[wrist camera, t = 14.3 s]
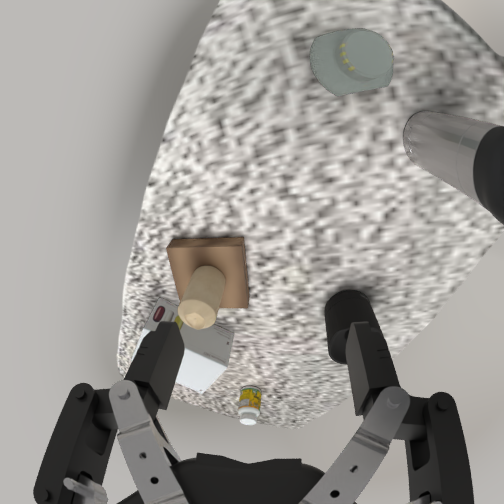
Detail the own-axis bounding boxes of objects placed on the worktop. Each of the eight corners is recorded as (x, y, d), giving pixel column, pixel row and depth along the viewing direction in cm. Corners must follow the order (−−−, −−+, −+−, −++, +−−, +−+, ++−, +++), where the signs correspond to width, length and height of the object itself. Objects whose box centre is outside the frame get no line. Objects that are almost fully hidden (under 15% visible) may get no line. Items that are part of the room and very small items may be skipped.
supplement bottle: (237, 387, 65) (232, 418, 57) (255, 383, 64) (252, 416, 55) (247, 396, 67) (243, 427, 59) (265, 393, 66) (262, 424, 58)
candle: (186, 275, 45) (166, 316, 36) (210, 259, 43) (194, 300, 34) (208, 297, 47) (194, 340, 38) (232, 283, 45) (222, 327, 36)
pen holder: (370, 319, 50) (382, 357, 42) (325, 328, 52) (330, 368, 44) (369, 282, 46) (385, 321, 37) (319, 293, 48) (325, 333, 39)
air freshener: (320, 100, 32) (335, 98, 24) (299, 47, 29) (306, 27, 20) (390, 85, 30) (423, 82, 21) (371, 33, 26) (398, 15, 17)
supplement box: (235, 332, 55) (229, 368, 47) (210, 362, 61) (202, 395, 53) (159, 295, 52) (142, 328, 44) (144, 331, 58) (129, 362, 50)
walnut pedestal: (243, 237, 44) (241, 246, 41) (249, 297, 50) (247, 308, 47) (172, 239, 45) (166, 248, 42) (186, 296, 51) (181, 306, 48)
